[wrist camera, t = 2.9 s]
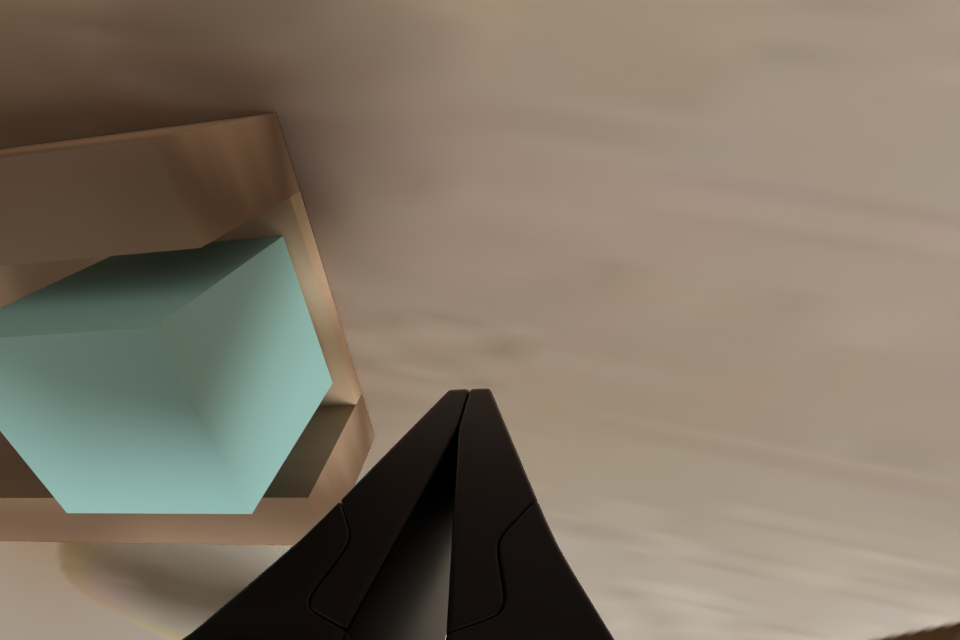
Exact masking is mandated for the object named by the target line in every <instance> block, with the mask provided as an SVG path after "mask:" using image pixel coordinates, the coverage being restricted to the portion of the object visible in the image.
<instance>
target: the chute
mask: <svg viewBox="0 0 960 640" xmlns="http://www.w3.org/2000/svg"><path fill="white" fill-rule="evenodd" d="M277 236H283V238H284V240H285V243H286V246H287V249H288V252H289V255H290V258H291V261H292V264H293V267H294V270H295V273H296V276H297V279H298V282H299V285H300V288H301V291H302V294H303V297H304V300H305V303H306V306H307V309H308V312H309V314H310V317H311V320H312V323H313V326H314V329H315V332H316V335H317V338H318V341H319V344H320V347H321V350H322V353H323V356H324V359H325V362H326V365H327V368H328V371H329V374H330V377H331V380H332V385H331V387H330V388H329V390H328V392H327V393H326V395H325V396H324V398H323V400H322V401H321V403H320V405H319V406H318V408H317V409H316V411H315V413H314V414H313V416H312V417H311V419H310V421H309V422H308V424H307V426H306V427H305V429H304V430H303V432H302V434H301V435H300V437H299V439H298V440H297V442H296V443H295V445H294V447H293V448H292V450H291V451H290V453H289V455H288V456H287V458H286V460H285V461H284V463H283V464H282V466H281V468H280V469H279V471H278V473H277V474H276V476H275V477H274V479H273V481H272V482H271V484H270V485H269V487H268V489H267V490H266V492H265V494H264V495H263V497H262V498H261V500H260V502H259V503H258V505H257V507H256V508H255V510H254V511H253V513H252V514H143V513H66V511H65V510H64V509H63V508H62V506H61V505H60V504H59V503H58V502H57V500H56V499H55V498H54V497H53V495H52V494H51V493H50V492H49V490H48V489H47V488H46V487H45V485H44V484H43V483H42V482H41V481H40V479H39V478H38V477H37V476H36V474H35V473H34V472H33V471H32V469H31V468H30V467H29V466H28V465H27V463H26V462H25V461H24V460H23V458H22V457H21V456H20V455H19V453H18V452H17V451H16V450H15V448H14V447H13V446H12V445H11V444H10V442H9V441H8V440H7V439H6V437H5V436H4V435H3V434H2V432H1V431H0V541H41V542H44V541H45V542H106V543H172V544H238V545H295V544H296V543H297V542H298V541H299V540H300V539H302V538H303V537H304V536H305V535H306V534H307V533H308V532H309V531H310V530H311V529H312V528H313V527H314V526H315V525H316V524H317V523H318V522H319V521H320V520H321V519H322V518H323V517H324V516H325V515H326V514H327V513H328V512H329V511H330V510H331V509H332V508H333V507H334V506H335V505H336V504H337V503H341V499H342V498H343V497H344V496H345V495H346V494H347V493H348V492H349V491H350V490H351V489H352V488H353V487H354V485H355V483H356V481H357V478H358V476H359V474H360V471H361V469H362V466H363V464H364V462H365V459H366V457H367V454H368V452H369V450H370V447H371V445H372V443H373V440H374V438H375V436H374V432H373V429H372V426H371V423H370V419H369V416H368V413H367V409H366V406H365V403H364V400H363V396H362V393H361V390H360V386H359V383H358V380H357V377H356V373H355V370H354V367H353V363H352V360H351V357H350V354H349V350H348V347H347V344H346V341H345V337H344V334H343V331H342V327H341V324H340V321H339V318H338V314H337V311H336V308H335V304H334V301H333V298H332V295H331V291H330V288H329V285H328V282H327V278H326V275H325V272H324V268H323V265H322V262H321V259H320V255H319V252H318V249H317V245H316V242H315V239H314V236H313V232H312V229H311V226H310V222H309V219H308V216H307V213H306V209H305V206H304V203H303V200H302V196H301V193H300V190H299V186H298V183H297V180H296V177H295V173H294V170H293V167H292V163H291V160H290V157H289V154H288V150H287V147H286V144H285V140H284V137H283V134H282V131H281V127H280V124H279V121H278V118H277V114H276V112H275V113H267V114H260V115H252V116H245V117H237V118H230V119H222V120H215V121H207V122H199V123H192V124H184V125H177V126H169V127H162V128H154V129H147V130H139V131H131V132H124V133H116V134H109V135H101V136H94V137H86V138H79V139H71V140H63V141H56V142H48V143H41V144H33V145H26V146H18V147H11V148H3V149H0V308H1V307H4V306H6V305H8V304H10V303H12V302H14V301H16V300H18V299H21V298H23V297H25V296H27V295H29V294H31V293H33V292H36V291H38V290H40V289H42V288H44V287H46V286H48V285H50V284H53V283H55V282H57V281H59V280H61V279H63V278H65V277H67V276H70V275H72V274H74V273H76V272H78V271H80V270H82V269H84V268H87V267H89V266H91V265H93V264H95V263H97V262H99V261H102V260H104V259H106V258H108V257H110V256H116V255H127V254H139V253H150V252H161V251H173V250H184V249H195V248H201V247H203V246H205V245H207V244H208V243H211V242H222V241H233V240H244V239H255V238H266V237H277ZM341 504H342V503H341Z"/></svg>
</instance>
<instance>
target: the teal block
mask: <svg viewBox="0 0 960 640" xmlns="http://www.w3.org/2000/svg"><path fill="white" fill-rule="evenodd" d="M331 385H332V380H331V377H330V374H329V371H328V368H327V365H326V362H325V359H324V356H323V353H322V350H321V347H320V344H319V341H318V338H317V335H316V332H315V329H314V326H313V323H312V320H311V317H310V314H309V312H308V309H307V306H306V303H305V300H304V297H303V294H302V291H301V288H300V285H299V282H298V279H297V276H296V273H295V270H294V267H293V264H292V261H291V258H290V255H289V252H288V249H287V246H286V243H285V240H284V238H283V236H277V237H266V238H255V239H244V240H233V241H222V242H211V243H208V244H207V245H205V246H203V247H201V248H195V249H184V250H173V251H161V252H150V253H139V254H127V255H116V256H110V257H108V258H106V259H104V260H102V261H99V262H97V263H95V264H93V265H91V266H89V267H87V268H84V269H82V270H80V271H78V272H76V273H74V274H72V275H70V276H67V277H65V278H63V279H61V280H59V281H57V282H55V283H53V284H50V285H48V286H46V287H44V288H42V289H40V290H38V291H36V292H33V293H31V294H29V295H27V296H25V297H23V298H21V299H18V300H16V301H14V302H12V303H10V304H8V305H6V306H4V307H1V308H0V431H1V432H2V434H3V435H4V436H5V437H6V439H7V440H8V441H9V442H10V444H11V445H12V446H13V447H14V448H15V450H16V451H17V452H18V453H19V455H20V456H21V457H22V458H23V460H24V461H25V462H26V463H27V465H28V466H29V467H30V468H31V469H32V471H33V472H34V473H35V474H36V476H37V477H38V478H39V479H40V481H41V482H42V483H43V484H44V485H45V487H46V488H47V489H48V490H49V492H50V493H51V494H52V495H53V497H54V498H55V499H56V500H57V502H58V503H59V504H60V505H61V506H62V508H63V509H64V510H65V511H66V513H143V514H252V513H253V511H254V510H255V508H256V507H257V505H258V503H259V502H260V500H261V498H262V497H263V495H264V494H265V492H266V490H267V489H268V487H269V485H270V484H271V482H272V481H273V479H274V477H275V476H276V474H277V473H278V471H279V469H280V468H281V466H282V464H283V463H284V461H285V460H286V458H287V456H288V455H289V453H290V451H291V450H292V448H293V447H294V445H295V443H296V442H297V440H298V439H299V437H300V435H301V434H302V432H303V430H304V429H305V427H306V426H307V424H308V422H309V421H310V419H311V417H312V416H313V414H314V413H315V411H316V409H317V408H318V406H319V405H320V403H321V401H322V400H323V398H324V396H325V395H326V393H327V392H328V390H329V388H330V387H331Z"/></svg>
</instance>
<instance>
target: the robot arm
mask: <svg viewBox="0 0 960 640" xmlns="http://www.w3.org/2000/svg"><path fill="white" fill-rule="evenodd" d="M341 503H342V504H341ZM341 503H337V504H336V505H335V506H334V507H333V508H332V509H331V510H330V511H329V512H328V513H327V514H326V515H325V516H324V517H323V518H322V519H321V520H320V521H319V522H318V523H317V524H316V525H315V526H314V527H313V528H312V529H311V530H310V531H309V532H308V533H307V534H306V535H305V536H304V537H303V538H302V539H300V540H299V541H298V542H297V543H296V544H295V545H294V546H293V547H291V548H290V549H289V550H288V551H287V552H286V553H285V554H284V555H282V556H281V557H280V558H279V559H278V560H277V561H276V562H275V563H273V564H272V565H271V566H270V567H269V568H268V569H266V570H265V571H264V572H263V573H262V574H261V575H259V576H258V577H257V578H256V579H255V580H254V581H252V582H251V583H250V584H249V585H248V586H247V587H245V588H244V589H243V590H242V591H241V592H240V593H238V594H237V595H236V596H235V597H234V598H233V599H231V600H230V601H229V602H228V603H227V604H226V605H224V606H223V607H222V608H221V609H220V610H219V611H217V612H216V613H215V614H214V615H213V616H212V617H210V618H209V619H208V620H207V621H206V622H204V623H203V624H202V625H201V626H200V627H198V628H197V629H196V630H195V631H193V632H192V633H191V634H189V635H188V636H186V637H185V638H184V639H182V640H445V635H446V634H447V638H446V640H614V639H613V637H612V635H611V634H610V632H609V630H608V629H607V627H606V626H605V624H604V622H603V621H602V619H601V617H600V616H599V614H598V612H597V611H596V609H595V608H594V606H593V604H592V603H591V601H590V599H589V598H588V596H587V594H586V593H585V591H584V590H583V588H582V586H581V585H580V583H579V581H578V580H577V578H576V576H575V575H574V573H573V572H572V570H571V568H570V566H569V564H568V563H567V561H566V559H565V557H564V556H563V554H562V552H561V550H560V548H559V547H558V545H557V543H556V541H555V539H554V536H553V534H552V532H551V530H550V528H549V526H548V524H547V522H546V519H545V517H544V515H543V512H542V510H541V508H540V505H539V504H538V502H537V499H536V496H535V494H534V492H533V489H532V487H531V484H530V482H529V480H528V477H527V475H526V473H525V470H524V468H523V466H522V463H521V461H520V458H519V456H518V454H517V451H516V449H515V447H514V444H513V442H512V439H511V437H510V435H509V432H508V430H507V428H506V425H505V423H504V420H503V418H502V416H501V413H500V411H499V409H498V406H497V404H496V402H495V399H494V397H493V394H492V392H491V390H490V389H472V390H471V391H470V392H469V390H467V389H463V390H450V391H448V392H447V393H446V394H445V395H444V396H443V397H442V398H441V399H440V400H439V401H438V402H437V403H436V404H435V405H434V406H433V407H432V408H431V409H430V410H429V411H428V412H427V413H426V414H425V415H424V416H423V417H422V418H421V419H420V420H419V421H418V422H417V423H416V424H415V425H414V426H413V427H412V428H411V429H410V430H409V431H408V432H407V433H406V434H405V435H404V436H403V437H402V438H401V439H400V440H399V442H398V443H397V444H396V445H395V446H394V447H393V448H392V449H391V450H390V451H389V452H388V453H387V454H386V455H385V456H384V457H383V458H382V459H381V460H380V461H379V462H378V463H377V464H376V465H375V466H374V467H373V468H372V469H371V470H370V471H369V472H368V473H367V474H366V475H365V476H364V477H363V478H362V479H361V480H360V481H359V482H358V483H357V484H356V485H355V486H354V487H353V488H352V489H351V490H350V491H349V492H348V493H347V494H346V495H345V496H344V497H343V498H342V499H341ZM446 630H447V631H446Z"/></svg>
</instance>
